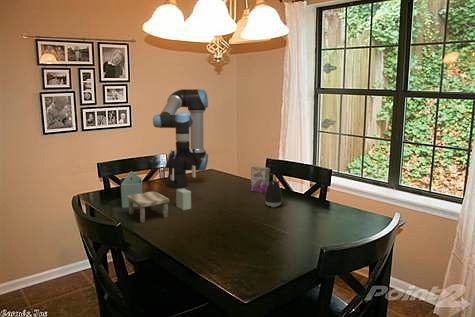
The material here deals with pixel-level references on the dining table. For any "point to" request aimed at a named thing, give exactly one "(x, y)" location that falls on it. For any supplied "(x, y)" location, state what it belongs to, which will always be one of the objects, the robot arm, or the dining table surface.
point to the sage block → (183, 199)
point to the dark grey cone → (273, 194)
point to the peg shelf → (147, 203)
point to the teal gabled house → (130, 188)
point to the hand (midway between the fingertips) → (183, 178)
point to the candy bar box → (259, 178)
